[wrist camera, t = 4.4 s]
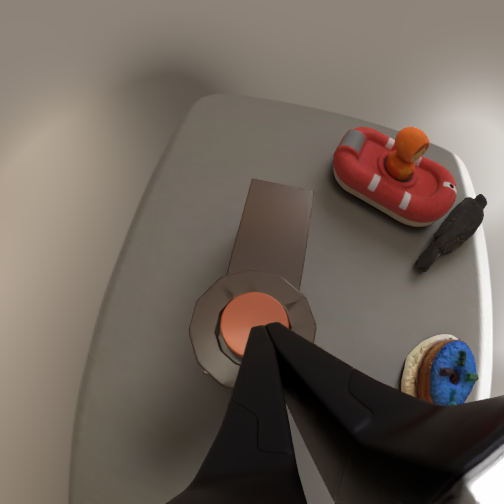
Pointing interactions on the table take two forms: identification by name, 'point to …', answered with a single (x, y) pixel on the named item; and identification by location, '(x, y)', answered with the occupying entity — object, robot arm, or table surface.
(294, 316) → the brown button base
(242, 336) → the button
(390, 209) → the toy boat
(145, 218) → the table surface
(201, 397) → the table surface
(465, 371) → the dessert
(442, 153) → the table surface
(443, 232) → the bird model
